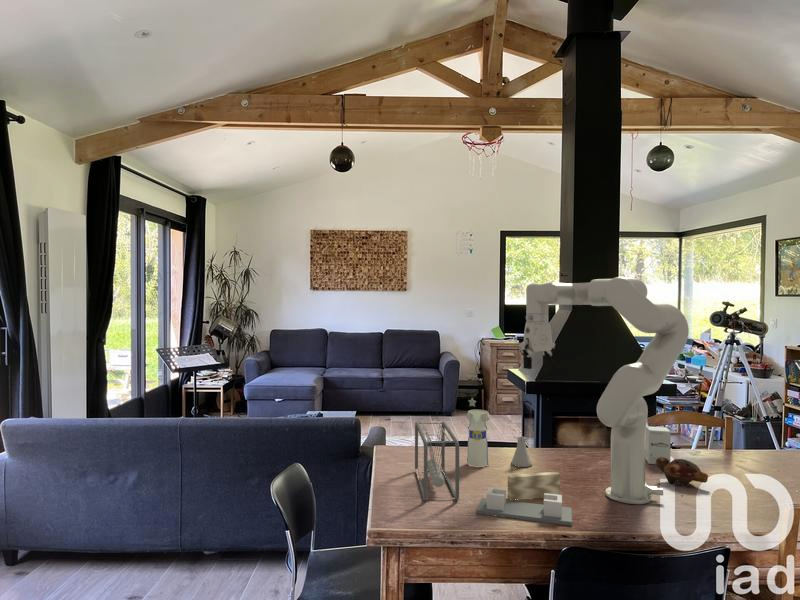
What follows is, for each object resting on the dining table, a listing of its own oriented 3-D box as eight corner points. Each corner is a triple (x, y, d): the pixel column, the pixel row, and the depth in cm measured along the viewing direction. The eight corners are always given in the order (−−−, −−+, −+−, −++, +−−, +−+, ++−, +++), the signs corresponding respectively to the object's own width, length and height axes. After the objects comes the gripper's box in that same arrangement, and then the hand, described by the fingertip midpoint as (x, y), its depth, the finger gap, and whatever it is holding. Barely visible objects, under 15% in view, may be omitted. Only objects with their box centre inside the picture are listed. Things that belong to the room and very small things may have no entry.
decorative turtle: (659, 475, 174) (659, 452, 174) (710, 485, 164) (710, 460, 164) (652, 483, 166) (652, 458, 166) (705, 493, 157) (705, 467, 157)
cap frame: (571, 511, 142) (571, 493, 142) (572, 525, 133) (572, 506, 133) (481, 501, 150) (481, 484, 150) (476, 513, 140) (476, 495, 140)
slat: (556, 494, 156) (556, 471, 156) (560, 497, 153) (560, 474, 154) (507, 498, 152) (507, 474, 153) (511, 501, 150) (511, 477, 150)
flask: (507, 463, 187) (507, 436, 187) (523, 461, 190) (523, 434, 190) (519, 469, 180) (519, 440, 181) (536, 466, 184) (535, 438, 184)
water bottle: (489, 469, 180) (489, 398, 181) (465, 467, 182) (465, 397, 182) (490, 462, 188) (490, 394, 189) (467, 460, 190) (467, 393, 190)
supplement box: (648, 464, 186) (648, 429, 187) (645, 458, 193) (645, 425, 194) (671, 466, 184) (670, 431, 185) (666, 460, 191) (666, 426, 192)
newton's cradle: (414, 471, 178) (414, 420, 178) (444, 470, 178) (444, 420, 179) (423, 503, 148) (424, 442, 148) (459, 503, 148) (459, 441, 149)
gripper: (528, 319, 171) (528, 370, 171) (562, 319, 181) (562, 367, 180) (511, 319, 177) (511, 368, 177) (545, 318, 187) (545, 365, 186)
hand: (537, 367), depth 179 cm, fingers open, 9 cm apart
